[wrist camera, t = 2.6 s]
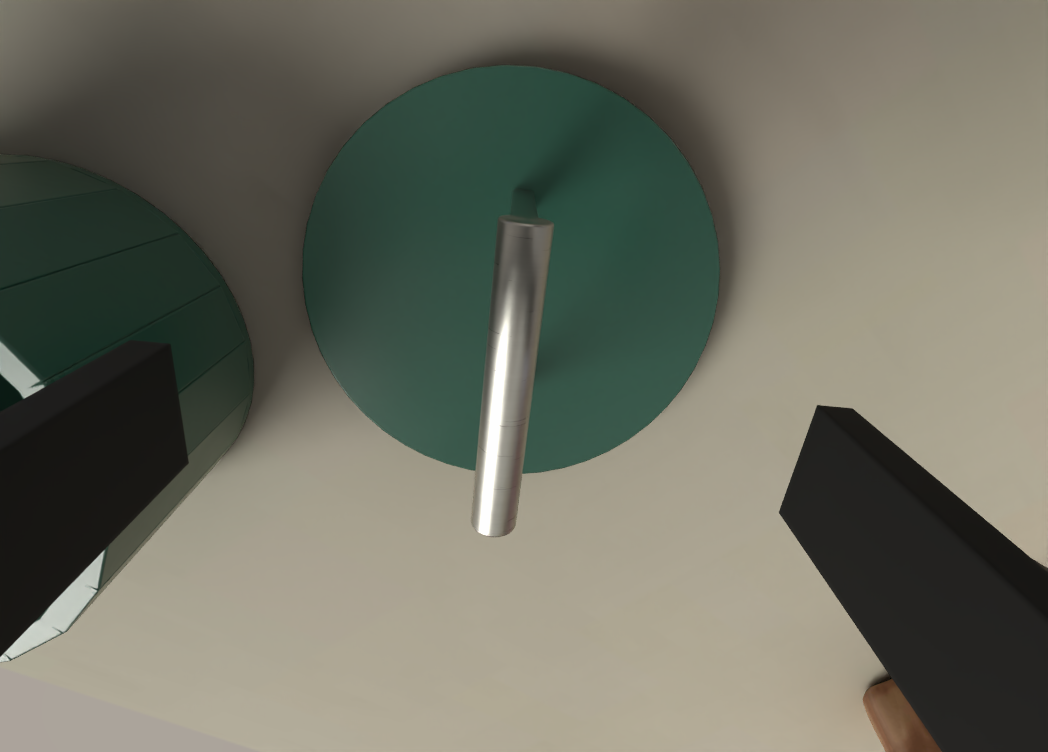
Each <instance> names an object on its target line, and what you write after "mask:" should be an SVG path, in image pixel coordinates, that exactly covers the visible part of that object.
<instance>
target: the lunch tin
mask: <svg viewBox="0 0 1048 752" xmlns="http://www.w3.org/2000/svg"><path fill="white" fill-rule="evenodd" d="M129 340H136V341H146V342H157V343H168V344H171V349H172V356H173V363H174V369H175V376H176V382H177V389H178V395H179V402H180V408H181V415H182V421H183V428H184V434H185V441H186V447H187V454H188V461H189V464H188V465H187V466H186V467H185V468H184V469H183V470H182V471H181V472H180V473H179V474H178V475H177V476H176V477H175V478H174V479H173V480H172V481H171V482H170V483H169V484H168V485H167V486H166V487H165V488H164V489H163V490H162V491H161V492H160V493H159V494H158V495H157V496H156V497H155V498H154V500H153V501H152V502H151V503H150V504H149V505H148V506H147V507H146V508H145V509H144V510H143V511H142V512H141V513H140V514H139V515H138V516H137V517H136V518H135V519H134V520H133V521H132V522H131V523H130V524H129V525H128V526H127V527H126V528H125V529H124V530H123V531H122V532H121V533H120V535H119V536H118V537H117V538H116V539H115V540H114V541H113V542H112V543H111V544H110V545H109V546H108V547H107V548H106V549H105V550H104V551H103V552H102V553H101V554H100V555H99V556H98V557H97V558H96V559H95V560H94V561H93V562H92V563H91V564H90V565H89V566H88V567H87V568H86V569H85V571H84V572H83V573H82V574H81V575H80V576H79V577H78V578H77V579H76V580H75V581H74V582H73V583H72V584H71V585H70V586H69V587H68V588H67V589H66V590H65V591H64V592H63V593H62V594H61V595H60V596H59V597H58V598H57V599H56V600H55V601H54V602H53V603H52V604H51V605H50V607H49V608H48V609H47V610H46V611H45V612H44V613H43V614H42V615H41V616H40V617H39V618H38V619H37V620H36V621H35V622H34V623H33V624H32V625H31V626H30V627H29V628H28V629H27V630H26V631H25V632H24V633H23V634H22V635H21V636H20V637H19V638H18V639H17V640H16V641H15V643H14V644H13V645H12V646H11V647H10V648H9V649H8V650H7V651H6V652H5V653H4V654H3V655H2V656H1V657H0V662H6V661H11V660H12V659H15V658H17V657H19V656H21V655H23V654H25V653H27V652H28V651H30V650H32V649H34V648H36V647H38V646H40V645H42V644H44V643H46V642H48V641H50V640H52V639H54V638H56V637H57V636H59V635H61V634H63V633H65V632H67V631H68V630H69V629H70V627H71V626H72V625H73V624H74V623H75V622H76V621H77V620H78V619H79V617H80V616H81V615H82V614H83V613H84V612H85V611H86V610H87V608H88V607H89V606H90V605H91V604H92V603H93V602H94V601H95V599H96V598H97V597H98V596H99V595H100V594H101V593H102V592H103V591H104V589H105V588H106V587H107V586H108V585H109V584H110V583H111V582H112V580H113V579H114V578H115V577H116V576H117V575H118V574H119V573H120V572H121V570H122V569H123V568H124V567H125V566H126V565H127V564H128V563H129V561H130V560H131V559H132V558H133V557H134V556H135V555H136V554H137V552H138V551H139V550H140V549H141V548H142V547H143V546H144V545H145V544H146V542H147V541H148V540H149V539H150V538H151V537H152V536H153V535H154V533H155V532H156V531H157V530H158V529H159V528H160V527H161V526H162V524H163V523H164V522H165V521H166V520H167V519H168V518H169V517H170V516H171V514H172V513H173V512H174V511H175V510H176V509H177V508H178V507H179V505H180V504H181V503H182V502H183V501H184V500H185V499H186V498H187V497H188V495H189V494H190V493H191V492H192V491H193V490H194V489H195V488H196V486H197V485H198V484H199V483H200V482H201V481H202V480H203V479H204V477H205V476H206V475H207V474H208V473H209V472H210V471H211V470H212V468H213V467H214V466H215V465H216V463H217V462H218V461H219V460H220V459H221V457H222V456H223V455H224V454H225V453H226V452H227V450H228V449H229V448H230V446H231V445H232V444H233V442H234V441H235V440H236V439H237V437H238V435H239V433H240V431H241V429H242V427H243V425H244V423H245V421H246V418H247V415H248V411H249V408H250V405H251V401H252V393H253V386H254V366H253V357H252V350H251V344H250V339H249V336H248V333H247V330H246V326H245V323H244V320H243V317H242V315H241V313H240V310H239V308H238V306H237V304H236V301H235V299H234V297H233V295H232V293H231V292H230V290H229V288H228V287H227V285H226V283H225V282H224V280H223V278H222V277H221V275H220V273H219V272H218V271H217V269H216V268H215V267H214V265H213V264H212V263H211V261H210V260H209V259H208V257H207V256H206V255H205V253H204V252H203V251H202V250H201V249H200V248H199V247H198V246H197V245H196V244H195V243H194V242H193V240H192V239H191V238H190V237H189V236H188V235H187V234H186V233H185V232H184V231H183V230H182V229H181V228H179V227H178V226H177V225H176V224H175V223H174V222H173V221H171V220H170V219H169V218H168V217H167V216H166V215H165V214H163V213H162V212H161V211H159V210H158V209H157V208H155V207H154V206H152V205H151V204H149V203H148V202H147V201H145V200H144V199H142V198H141V197H140V196H138V195H136V194H135V193H133V192H131V191H129V190H127V189H126V188H124V187H122V186H120V185H118V184H117V183H115V182H113V181H111V180H109V179H107V178H104V177H102V176H100V175H97V174H95V173H93V172H90V171H88V170H86V169H83V168H79V167H76V166H73V165H70V164H66V163H63V162H60V161H56V160H51V159H45V158H39V157H34V156H27V155H5V154H0V412H1V411H3V410H4V409H6V408H8V407H10V406H12V405H14V404H15V403H17V402H19V401H21V400H23V399H24V398H26V397H28V396H30V395H32V394H33V393H35V392H37V391H39V390H41V389H42V388H44V387H46V386H48V385H50V384H51V383H53V382H55V381H57V380H59V379H61V378H62V377H64V376H66V375H68V374H70V373H71V372H73V371H75V370H77V369H79V368H80V367H82V366H84V365H86V364H88V363H89V362H91V361H93V360H95V359H97V358H98V357H100V356H102V355H104V354H106V353H108V352H109V351H111V350H113V349H115V348H117V347H118V346H120V345H122V344H124V343H126V342H127V341H129Z"/></svg>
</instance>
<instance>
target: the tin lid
mask: <svg viewBox="0 0 1048 752" xmlns="http://www.w3.org/2000/svg"><path fill="white" fill-rule="evenodd" d="M719 278H720V262H719V249H718V240H717V235H716V231H715V226H714V222H713V217H712V213H711V210H710V208H709V205H708V202H707V200H706V197H705V194H704V192H703V189H702V187H701V185H700V183H699V181H698V179H697V177H696V175H695V174H694V172H693V170H692V168H691V166H690V164H689V163H688V161H687V160H686V158H685V157H684V156H683V154H682V153H681V152H680V150H679V149H678V148H677V146H676V145H675V144H674V142H673V141H672V140H671V138H670V137H669V136H668V135H667V134H666V133H665V132H664V131H663V130H662V129H661V128H660V127H659V126H658V125H657V124H656V123H655V122H654V121H653V120H652V119H651V118H650V117H649V116H648V115H646V114H645V113H644V112H642V111H641V110H640V109H638V108H637V107H636V106H634V105H633V104H631V103H630V102H629V101H627V100H626V99H625V98H623V97H621V96H619V95H618V94H616V93H614V92H612V91H610V90H608V89H606V88H605V87H603V86H601V85H599V84H597V83H595V82H592V81H589V80H586V79H583V78H581V77H578V76H575V75H572V74H570V73H567V72H562V71H557V70H552V69H547V68H542V67H537V66H519V65H497V66H487V67H477V68H470V69H466V70H463V71H459V72H455V73H451V74H447V75H443V76H440V77H438V78H435V79H433V80H431V81H428V82H426V83H423V84H421V85H419V86H416V87H414V88H412V89H411V90H409V91H407V92H406V93H404V94H402V95H401V96H399V97H397V98H396V99H394V100H392V101H391V102H389V103H387V104H386V105H385V106H384V107H383V108H381V109H380V110H379V111H378V112H377V113H375V114H374V115H373V116H372V117H371V118H369V119H368V120H367V121H366V122H365V123H363V125H362V126H361V127H360V128H359V129H358V130H357V131H356V132H355V134H354V135H353V136H352V137H351V138H350V139H349V140H348V141H347V142H346V144H345V145H344V146H343V147H342V149H341V151H340V152H339V154H338V155H337V157H336V158H335V160H334V161H333V163H332V164H331V166H330V167H329V169H328V170H327V172H326V175H325V177H324V179H323V181H322V183H321V185H320V187H319V190H318V192H317V194H316V196H315V199H314V202H313V206H312V209H311V212H310V216H309V219H308V222H307V227H306V234H305V240H304V247H303V271H302V279H303V288H304V296H305V304H306V308H307V312H308V316H309V320H310V324H311V328H312V331H313V334H314V336H315V339H316V342H317V344H318V347H319V349H320V352H321V354H322V356H323V358H324V360H325V361H326V363H327V365H328V367H329V369H330V371H331V372H332V374H333V376H334V378H335V379H336V380H337V382H338V383H339V384H340V386H341V387H342V389H343V390H344V391H345V393H346V394H347V396H348V397H349V398H350V399H351V400H352V401H353V402H354V403H355V404H356V406H357V407H358V408H359V409H360V410H361V411H362V412H363V413H364V414H365V415H366V416H367V417H368V418H369V419H370V420H372V421H373V422H374V423H375V424H376V425H377V426H379V427H380V428H381V429H382V430H383V431H385V432H386V433H388V434H389V435H391V436H392V437H394V438H395V439H397V440H398V441H400V442H401V443H403V444H404V445H406V446H408V447H410V448H412V449H414V450H416V451H418V452H420V453H421V454H423V455H425V456H428V457H431V458H433V459H436V460H438V461H441V462H444V463H446V464H449V465H453V466H457V467H461V468H465V469H469V470H474V471H475V483H474V494H473V505H472V516H471V523H472V526H473V527H474V529H475V530H476V531H477V532H479V533H480V534H483V535H485V536H489V537H501V536H505V535H507V534H509V533H510V532H512V530H513V529H514V528H515V525H516V518H517V510H518V502H519V494H520V487H521V479H522V474H525V473H538V472H545V471H550V470H555V469H560V468H565V467H568V466H571V465H575V464H578V463H581V462H584V461H587V460H590V459H592V458H594V457H596V456H599V455H601V454H603V453H606V452H608V451H610V450H611V449H613V448H615V447H617V446H618V445H620V444H622V443H623V442H625V441H627V440H629V439H630V438H631V437H633V436H634V435H635V434H637V433H638V432H639V431H641V430H642V429H643V428H645V427H646V426H647V425H649V424H650V423H651V422H652V421H653V420H654V419H655V418H656V417H657V416H658V415H659V414H660V413H661V412H662V411H663V410H664V409H665V408H666V407H667V406H668V405H669V404H670V402H671V401H672V400H673V399H674V398H675V396H676V395H677V394H678V393H679V392H680V390H681V389H682V387H683V386H684V384H685V383H686V381H687V380H688V378H689V376H690V375H691V373H692V372H693V370H694V369H695V367H696V365H697V362H698V360H699V358H700V356H701V354H702V352H703V350H704V348H705V346H706V343H707V340H708V337H709V334H710V330H711V327H712V324H713V321H714V316H715V311H716V306H717V301H718V295H719Z"/></svg>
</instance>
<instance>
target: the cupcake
mask: <svg viewBox="0 0 1048 752" xmlns="http://www.w3.org/2000/svg"><path fill="white" fill-rule="evenodd" d="M863 703H864V706H865V709H866V712H867V714H868V717H869V719H870V721H871V723H872V725H873V728H874V730H875V732H876V733H877V735H878V737H879V739H880V741H881V743H882V745H883V747H884V749H885V751H886V752H942V751H941V750H940V748H939V747H938V745H937V744H936V742H935V741H934V739H933V738H932V736H931V735H930V733H929V732H928V730H927V729H926V728H925V726H924V725H923V723H922V722H921V720H920V719H919V717H918V716H917V714H916V713H915V711H914V710H913V708H912V707H911V706H910V704H909V703H908V701H907V700H906V698H905V697H904V695H903V694H902V692H901V691H900V689H899V688H898V686H897V685H896V684H895V682H894V681H893V679H890V680H888V681H886V682H883V683H880V684H877V685H874V686H872V687H870V688H869V689H868V690H867V691H866V693H865V695H864V697H863Z"/></svg>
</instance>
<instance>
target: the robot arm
mask: <svg viewBox="0 0 1048 752" xmlns="http://www.w3.org/2000/svg"><path fill="white" fill-rule="evenodd" d="M188 464H189V461H188V454H187V447H186V441H185V434H184V428H183V421H182V415H181V408H180V402H179V395H178V389H177V382H176V376H175V369H174V363H173V356H172V349H171V344H168V343H157V342H146V341H136V340H129V341H127V342H126V343H124V344H122V345H120V346H118V347H117V348H115V349H113V350H111V351H109V352H108V353H106V354H104V355H102V356H100V357H98V358H97V359H95V360H93V361H91V362H89V363H88V364H86V365H84V366H82V367H80V368H79V369H77V370H75V371H73V372H71V373H70V374H68V375H66V376H64V377H62V378H61V379H59V380H57V381H55V382H53V383H51V384H50V385H48V386H46V387H44V388H42V389H41V390H39V391H37V392H35V393H33V394H32V395H30V396H28V397H26V398H24V399H23V400H21V401H19V402H17V403H15V404H14V405H12V406H10V407H8V408H6V409H4V410H3V411H1V412H0V657H1V656H2V655H3V654H4V653H5V652H6V651H7V650H8V649H9V648H10V647H11V646H12V645H13V644H14V643H15V641H16V640H17V639H18V638H19V637H20V636H21V635H22V634H23V633H24V632H25V631H26V630H27V629H28V628H29V627H30V626H31V625H32V624H33V623H34V622H35V621H36V620H37V619H38V618H39V617H40V616H41V615H42V614H43V613H44V612H45V611H46V610H47V609H48V608H49V607H50V605H51V604H52V603H53V602H54V601H55V600H56V599H57V598H58V597H59V596H60V595H61V594H62V593H63V592H64V591H65V590H66V589H67V588H68V587H69V586H70V585H71V584H72V583H73V582H74V581H75V580H76V579H77V578H78V577H79V576H80V575H81V574H82V573H83V572H84V571H85V569H86V568H87V567H88V566H89V565H90V564H91V563H92V562H93V561H94V560H95V559H96V558H97V557H98V556H99V555H100V554H101V553H102V552H103V551H104V550H105V549H106V548H107V547H108V546H109V545H110V544H111V543H112V542H113V541H114V540H115V539H116V538H117V537H118V536H119V535H120V533H121V532H122V531H123V530H124V529H125V528H126V527H127V526H128V525H129V524H130V523H131V522H132V521H133V520H134V519H135V518H136V517H137V516H138V515H139V514H140V513H141V512H142V511H143V510H144V509H145V508H146V507H147V506H148V505H149V504H150V503H151V502H152V501H153V500H154V498H155V497H156V496H157V495H158V494H159V493H160V492H161V491H162V490H163V489H164V488H165V487H166V486H167V485H168V484H169V483H170V482H171V481H172V480H173V479H174V478H175V477H176V476H177V475H178V474H179V473H180V472H181V471H182V470H183V469H184V468H185V467H186V466H187V465H188ZM779 513H780V515H781V516H782V518H783V519H784V521H785V522H786V524H787V525H788V527H789V528H790V529H791V531H792V532H793V534H794V535H795V537H796V538H797V540H798V541H799V543H800V544H801V546H802V547H803V549H804V550H805V551H806V553H807V554H808V556H809V557H810V559H811V560H812V562H813V563H814V565H815V566H816V568H817V569H818V571H819V572H820V574H821V575H822V576H823V578H824V579H825V581H826V582H827V584H828V585H829V587H830V588H831V590H832V591H833V593H834V594H835V596H836V597H837V598H838V600H839V601H840V603H841V604H842V606H843V607H844V609H845V610H846V612H847V613H848V615H849V616H850V618H851V619H852V620H853V622H854V623H855V625H856V626H857V628H858V629H859V631H860V632H861V634H862V635H863V637H864V638H865V640H866V641H867V642H868V644H869V645H870V647H871V648H872V650H873V651H874V653H875V654H876V656H877V657H878V659H879V660H880V662H881V663H882V664H883V666H884V667H885V669H886V670H887V672H888V673H889V675H890V676H891V678H892V679H893V681H894V682H895V684H896V685H897V686H898V688H899V689H900V691H901V692H902V694H903V695H904V697H905V698H906V700H907V701H908V703H909V704H910V706H911V707H912V708H913V710H914V711H915V713H916V714H917V716H918V717H919V719H920V720H921V722H922V723H923V725H924V726H925V728H926V729H927V730H928V732H929V733H930V735H931V736H932V738H933V739H934V741H935V742H936V744H937V745H938V747H939V748H940V750H941V751H942V752H1048V568H1046V567H1045V566H1043V565H1041V564H1040V563H1038V562H1036V561H1035V560H1033V559H1032V558H1030V557H1029V556H1028V555H1027V554H1025V553H1024V552H1023V551H1022V550H1021V549H1020V548H1018V547H1017V546H1016V545H1015V544H1014V543H1012V542H1011V541H1010V540H1009V539H1008V538H1006V537H1005V536H1004V535H1003V534H1002V533H1000V532H999V531H998V530H997V529H996V528H994V527H993V526H992V525H991V524H990V523H988V522H987V521H986V520H985V519H984V518H983V517H981V516H980V515H979V514H978V513H977V512H975V511H974V510H973V509H972V508H971V507H969V506H968V505H967V504H966V503H965V502H963V501H962V500H961V499H960V498H959V497H957V496H956V495H955V494H954V493H953V492H951V491H950V490H949V489H948V488H947V487H946V486H944V485H943V484H942V483H941V482H940V481H938V480H937V479H936V478H935V477H934V476H932V475H931V474H930V473H929V472H928V471H926V470H925V469H924V468H923V467H922V466H920V465H919V464H918V463H917V462H916V461H914V460H913V459H912V458H911V457H910V456H909V455H907V454H906V453H905V452H904V451H903V450H901V449H900V448H899V447H898V446H897V445H895V444H894V443H893V442H892V441H891V440H889V439H888V438H887V437H886V436H885V435H883V434H882V433H881V432H880V431H879V430H877V429H876V428H875V427H874V426H873V425H871V424H870V423H869V422H868V421H867V420H866V419H864V418H863V417H862V416H861V415H860V414H858V413H857V412H856V411H855V410H854V409H851V408H841V407H830V406H820V405H817V407H816V410H815V413H814V416H813V419H812V421H811V424H810V427H809V430H808V433H807V435H806V438H805V441H804V444H803V447H802V449H801V452H800V455H799V458H798V461H797V463H796V466H795V469H794V472H793V474H792V477H791V480H790V483H789V486H788V488H787V491H786V494H785V497H784V500H783V502H782V505H781V508H780V511H779Z"/></svg>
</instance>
